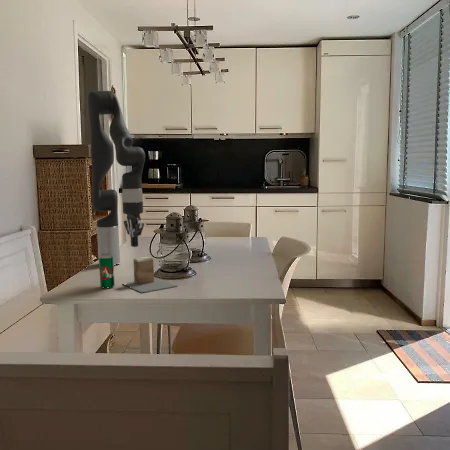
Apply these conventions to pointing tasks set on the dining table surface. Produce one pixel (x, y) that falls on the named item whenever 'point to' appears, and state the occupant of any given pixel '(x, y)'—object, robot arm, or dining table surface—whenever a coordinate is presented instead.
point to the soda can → (106, 270)
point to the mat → (151, 285)
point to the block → (143, 270)
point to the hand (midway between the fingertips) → (134, 246)
